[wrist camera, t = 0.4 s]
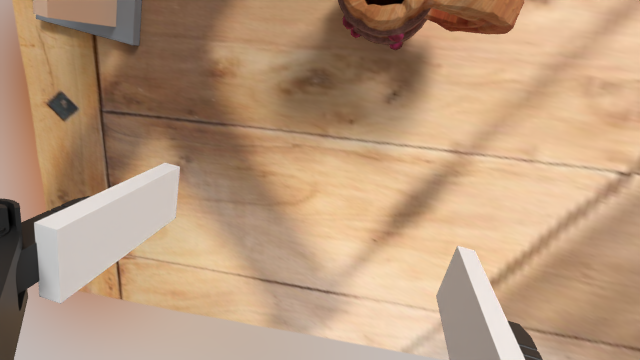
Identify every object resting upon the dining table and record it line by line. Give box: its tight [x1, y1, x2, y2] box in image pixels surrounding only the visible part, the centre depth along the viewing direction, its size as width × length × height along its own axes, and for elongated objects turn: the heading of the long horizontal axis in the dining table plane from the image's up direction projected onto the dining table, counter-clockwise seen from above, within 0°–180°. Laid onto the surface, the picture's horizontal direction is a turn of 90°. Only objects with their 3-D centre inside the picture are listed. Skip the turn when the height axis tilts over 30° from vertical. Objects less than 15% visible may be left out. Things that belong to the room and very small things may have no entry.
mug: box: [338, 0, 524, 50], centre depth 30 cm, size 15×8×15 cm, turn 74°
